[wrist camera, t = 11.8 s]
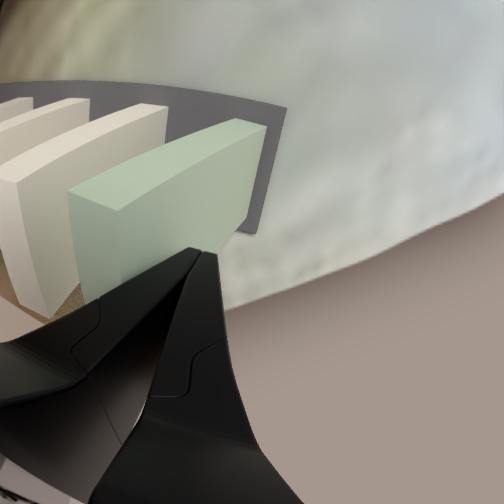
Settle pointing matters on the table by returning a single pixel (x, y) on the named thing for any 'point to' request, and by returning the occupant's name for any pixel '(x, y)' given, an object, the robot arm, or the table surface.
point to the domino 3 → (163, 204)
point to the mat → (169, 116)
